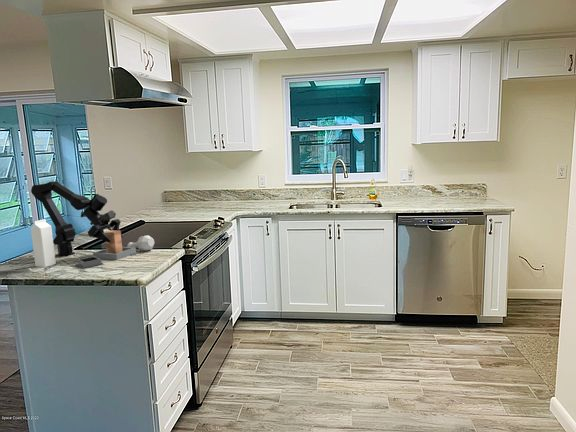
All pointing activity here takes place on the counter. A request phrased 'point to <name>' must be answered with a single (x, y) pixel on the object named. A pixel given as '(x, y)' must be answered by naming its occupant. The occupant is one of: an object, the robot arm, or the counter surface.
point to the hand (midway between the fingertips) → (116, 239)
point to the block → (114, 242)
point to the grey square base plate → (88, 262)
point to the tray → (104, 255)
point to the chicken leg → (143, 243)
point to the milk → (43, 244)
